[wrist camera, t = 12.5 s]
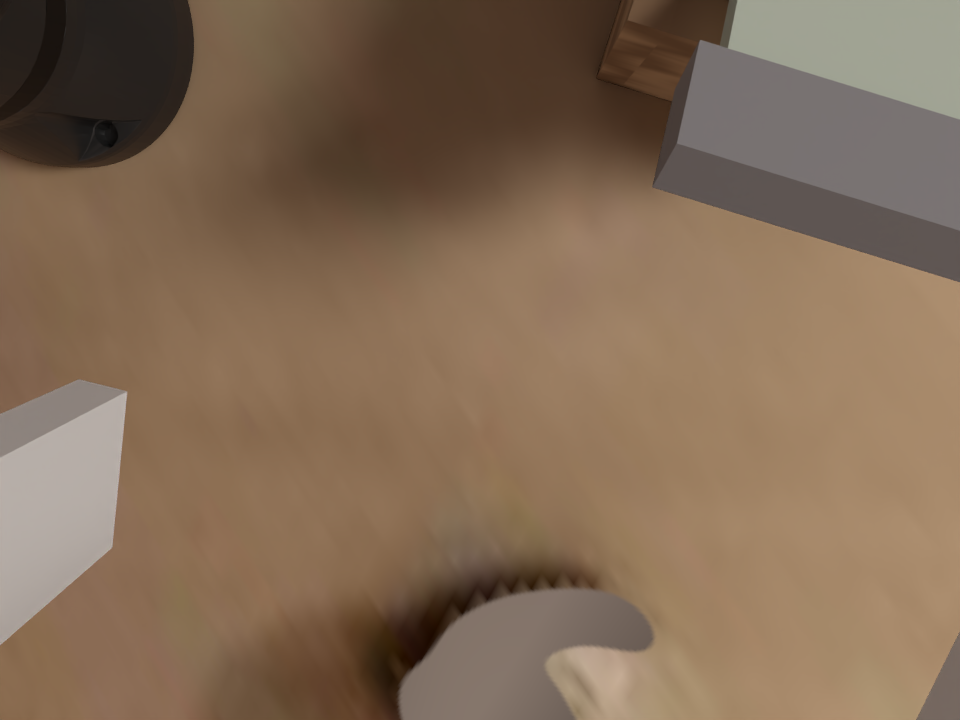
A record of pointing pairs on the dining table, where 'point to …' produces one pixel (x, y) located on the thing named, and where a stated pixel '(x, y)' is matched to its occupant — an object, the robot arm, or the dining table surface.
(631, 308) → the dining table surface
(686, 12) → the crate
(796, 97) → the lid
